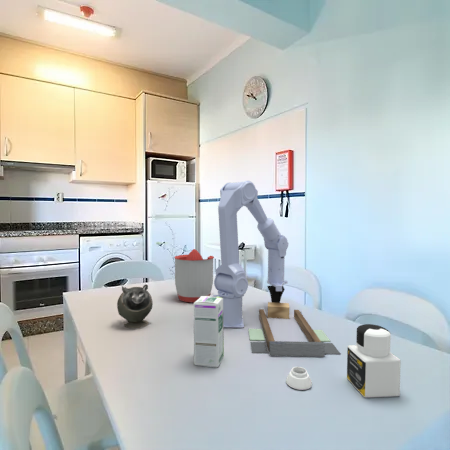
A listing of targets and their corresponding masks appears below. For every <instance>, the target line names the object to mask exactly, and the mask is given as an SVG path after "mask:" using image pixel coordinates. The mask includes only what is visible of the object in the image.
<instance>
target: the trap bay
mask: <svg viewBox="0 0 450 450" xmlns="http://www.w3.org/2000/svg"><path fill="white" fill-rule="evenodd" d="M249 344H250V349H251V353H252V354H269V356H270V357H307V358H308V357H309V358H311V357H312V358H314V357H315V358H316V357H317V358H319V357H320V358H321V357H322V358H325V355H341V352H340V350H339V349H337V347H336V346H335V344H334V343H332V342H309V341H286V340H285V341H283V340H282V341H281V340H280V341H279V340H277V341H276V340H275V341H269V350H268V347H267V343H266V341H250V343H249Z"/></svg>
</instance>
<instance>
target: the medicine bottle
mask: <svg viewBox="0 0 450 450" xmlns="http://www.w3.org/2000/svg"><path fill="white" fill-rule="evenodd" d="M391 337H392V336H391V331H390V330H388V329H387V328H385V327H384V326H382V325H378V324H377V325H376V324H371V323H370V324H369V323H367V324H365V323H364V324H360V325H358V326H357V327H356V343H355V344H352V345H349V344H348V345H347V353H346V354H347V356H346V357H347V359H346V360H347V363H346V378H347V380H348V381H349V382H350V383H351V384H352V386H353V387H354V388H355V389H356V390H357V391H358V392H359V393H360V394H361V395H362V397H363V398H365V399H366V398H389V397H399V396H400V395H401V393H400V392H401V365H402V363H401V362H402V361H401V359H400V358H399V357H397V356H396V355H394V354H393V353H392V352H391V339H392V338H391Z"/></svg>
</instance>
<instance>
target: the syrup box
mask: <svg viewBox="0 0 450 450" xmlns="http://www.w3.org/2000/svg"><path fill="white" fill-rule="evenodd" d="M192 303H193V302H192ZM192 305H193V364H194V365H195V366H199V367H207V368H219V367H220V364H221V363H222V361H223V359H224V353H225V352H224V350H225V349H224V348H225V347H224V338H225V337H224V336H225V335H224V327H223V297H217V296H213V295H210V296H201V297H200V298H199V299H198V300H196V301H195V302H194V303H193V304H192Z"/></svg>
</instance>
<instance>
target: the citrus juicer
mask: <svg viewBox="0 0 450 450" xmlns="http://www.w3.org/2000/svg"><path fill="white" fill-rule="evenodd" d="M214 259H215V257H214V256H213V255H210V256H207V258H204V259H203V256H202V255H201V253H200V252H199V251H198V250H197V249H195V248H194V249H192V250H191V251H190V252H189V253H188V254H179V255H175V256H174V285H175V290H176V293H177V296H178V299H179V301H180V302H186V303H194V302H195V301H196V300H198V299H199V298H200V297H201V296H211V293H212V289H213V286H214V285H213V284H214Z"/></svg>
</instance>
